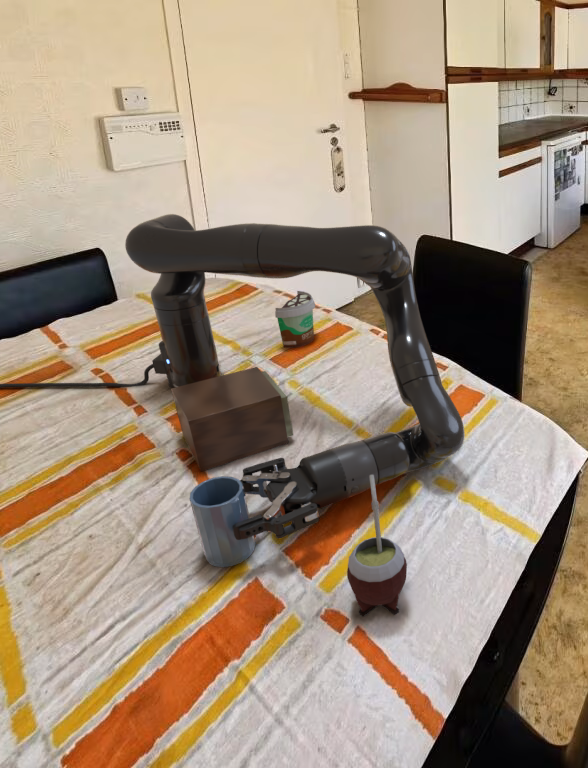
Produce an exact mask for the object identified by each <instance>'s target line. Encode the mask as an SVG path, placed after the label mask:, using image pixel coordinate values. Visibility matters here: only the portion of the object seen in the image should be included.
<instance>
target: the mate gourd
mask: <svg viewBox="0 0 588 768" xmlns="http://www.w3.org/2000/svg"><path fill="white" fill-rule="evenodd" d="M369 477H370V485H371V488H370V493H371V511H373V521H374V529H375V536H374V537H370V538H367V539H364V540H362V541H361V542H359V543H358V544H357V545H356V546H355V547H354V549H353V550H352V552H351V554H350V555H349V556H348V561H347V570H346V578H347V580H348V583H349V587H350V589H351V590H352V593H353V594H354V596H355V600H356V603H357V605H358V607H359V609H360V610H358V614H359V616H361V617H362V618H364V617H366V616H367V615H368V614H369V613H371V612H372V611H373V610H375V609H376V608H377V607H379V606H381V607H383V608H384V609H386V610H387V611H388V612H389V613H391V614H392V615H393V616H396V615H398V614H399V613H400V608H399V607H398V603H399V599H400V594H401V592H402V590H403V588H404V586H405V584H406V580H407V575H408V574H407V569H408V567H407V566H408V563H407V559H406V557H405V554H404V552H403V550H402V548H401V547H400V546H399V545H398V544H397V543H396V542H394V541H393V540H391V539H390V538H387V537H383V536H382V535H381V526H380V514H379V509H380V506H379V504H380V503H379V501H378V497H377V489H376V486H375V480H374V475H370V476H369Z"/></svg>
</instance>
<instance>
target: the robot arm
mask: <svg viewBox="0 0 588 768" xmlns="http://www.w3.org/2000/svg"><path fill="white" fill-rule="evenodd" d="M124 242H125V243H124V248H125V251H126V254H127V256H128V257H129V258H130V260H131V261H132V262H133V263H134V264H135V265H136V266H137V267H139V268H141V269H142V270H144V271H147V272H149V273H153V274H157V275H158V274H160V275H159V278H158V280H157V282H156V284H155V285H154V286H153V287H152V289H151V292H150V297H151V303H152V306H153V309H154V313H155V318H156V321H157V325H158V329H159V334H160V337H161V341H159V343H158V348H159V349H158V350H159V352H160V353H159V354H158V355H157V356H155V358H153V359H152V360H151V362H152V363H151V364H150V365H148V366H147V367H146V368H145V369H144V372H143V376H144V379H143V380H141V381H140V382H137V383H119V382H30V383H28V382H27V383H25V382H24V383H20V382H19V383H0V389H1V388H2V389H5V388H7V389H8V388H105V387H106V388H107V387H108V388H109V387H111V388H131V387H140V386H144V385H145V384H147V383H148V382H149V379H150V376H149V375H150V374H149V373H150V371H151V370H152V369H153V370H154V374H156V375H166V379H167V384H168V386H169V388H175V387H179V386H183V385H187V384H191V383H195V382H199V381H203V380H207V379H211V378H215V377H219V376H223V374H222V371H221V367H222V365H221V361H219V358H218V352H217V348H216V342H215V339H214V333H213V330H212V324H211V320H210V316H209V314H210V313H209V311H208V306H207V301H206V296H205V287H206V274H208V273H209V274H218V275H227V276H240V277H248V278H259V279H260V278H261V279H275V280H276V279H277V280H279V279H288V278H294V277H297V276H300V275H303V274H308V273H311V272H327V273H335V274H341V275H347V276H352V277H355V278H357V279H359V280H360V281H362V282H363V283H364V284H366V286H368V287H370V289H371V291H372V293H373V295H374V297H375V298H376V299H375V300H377V302H378V303H377V304H378V305H379V308H380V310H381V313H382V316H383V319H384V323H385V328H386V341H387V352H388V359H389V362H390V367H391V371H392V375H393V377H394V380H395V383H396V387H397V389H398V394H399V397H400V399H401V401H402V402H403V404H404V405H405V406H406V407H411V408H412V409H413V412H414V414H415V415H416V418H417V420H418V423H417V424H415V425H413V426H411V427H408V428H405V429H402V430H399V431H396V432H393V431H386V432H383V433H382V432H381V433H379V434H376V435H373V436H370V437H368V438H364V439H361V440H358V441H354V442H353V441H352V442H349V443H345V444H341V445H338V446H335V447H332V448H329V449H326V450H323V451H320V452H317V453H314V454H311V455H309V456H308V455H307V456H305V457H303V458H302V459H301V460H300V461H299V464H298V466H297V467H296V466H295V467H293V468H287V466H286V465H287V464H286V460H285V459H286V458H284V457H278V458H275V459H271V460H268V461H264V462H261V463H257V464H254V465H251V466H247V467H244V468H243V469H242V477H241V479H239V480H240V482H241V483H242V484H243V488H244V493H245V497H246V495H257V496H260V497H261V498H264V499H265V498H266V499H268V500H269V502H271V506H270V507H269V508H268V509H267V510H266V512H264V514H263V515H262V514H260V513H259V514H257V515H254V516H252V517H250V518H249V519H246V520H244V521H241V522H238V523H235V524H234V525H233V527H232V528H233V533H234V536H235V538H236V540H241V539H247V538H249V537H252V536H254V537H255V536H256V535H259V534H262V533H264V532H267V533H272V534H274V535H275V536H274V537H275V538H277V539H278V540H279V539H283V538H286V537H288V536H289V535H292V534H295V533H296V532H297V533H298V532H299V531H301V530H303V529H305V528H308V527H310V526H312V525H315V524H317V523H319V521H320V516H319V515H320V514H319V510H320V509H323V508H325V507H328V506H331V505H334V504H337V503H339V502H342V501H344V500H346V499H350V498H353V497H354V496H358V495H360V494H362V493H364V492H366V491H368V490H369V489H370V490H371V485H370V477H369V476H370V475H374V480H375V487H376V486H378V485H380V484H384V483H386V482H389V481H391V480H394V479H396V478H398V477H400V476H402V475H404V474H405V473H410V472H414V471H418V470H421V469H424V468H428V467H431V466H434V465H436V464H439V463H440V462H443V461H445V460H446V459H448V458H449V457H451V456H453V455H454V454H456V453H458V452H459V451H460V450H461V448H462V447H463V445H464V443H465V435H466V434H465V426H464V422H463V419H462V416H461V415H460V412H459V410H458V409H457V407H456V405H455V403H454V402H453V400H452V398H451V397H450V396H451V395H449V393H448V392H447V390H446V388H445V387H444V386H443V383H442V379H441V375H440V372H439V369H438V366H437V363H436V359H435V356H434V354H433V351H432V348H431V345H430V342H429V339H428V336H427V333H426V330H425V327H424V324H423V320H422V317H421V313H420V309H419V303H418V299H417V294H416V287H415V281H414V280H415V279H414V274H413V267H412V266H413V265H412V260H411V256H410V253H409V251H408V249H407V247H406V246H405V245H404V243H403V242H402V241H400V239H399V238H398V237H397V236H396V235H395V234H394V233H393V232H392V231H390V230H389V229H388V228H386V227H383V226H380V225H375V224H373V225H372V224H369V225H368V224H365V225H351V226H336V227H314V226H302V225H285V224H277V223H276V224H275V223H255V222H250V223H248V222H246V223H237V224H230V225H222V226H216V227H211V228H210V227H209V228H205V229H198V230H196V229H195V227H193V225H192V223H191V222H190V221H189V220H188V219H186V218H185V217H184V216H182V215H180V214H175V213H168V214H164V215H160V216H158V217H154V218H152V219H149V220H146V221H143V222H140V223H138V224H137V225H136V226H134V227H133V228H132V229H130V231H129V232H128V234H127V236H126V237H125V241H124ZM259 472H260V474H259V475H253V474H256V473H259ZM267 482H268V483H267ZM256 485H257V486H256ZM288 523H290V524H289V525H287V526H284V525H286V524H288Z"/></svg>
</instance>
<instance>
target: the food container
mask: <svg viewBox="0 0 588 768" xmlns="http://www.w3.org/2000/svg"><path fill="white" fill-rule="evenodd" d="M296 293H297V294H296V295H295V296H294V297H293V298H292V299H289V300H287V301H286V302H285V303H284V305H283V306H282V307H275V312H274V313H275V318H277V324H278V328H279V332H280V337H281V342H282V347H283V348H284V349H290V348H291V349H292V348H293V349H295V348H300V347H304V346H306V345H309V344H310V343H312V342H313V341H314V339H315V329H314V309H315V308H316V303H315V299H314V298H313V297H312V294H310V293H309V292H307V291H304V290H303V291H302V290H296Z"/></svg>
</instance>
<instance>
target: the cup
mask: <svg viewBox="0 0 588 768" xmlns="http://www.w3.org/2000/svg"><path fill="white" fill-rule="evenodd" d="M240 480H241V479H238V478H236V477H233V476H226V475H222V476H216V477H211V478H209V479H206V480H203V481H202V482H200V483H198V484H197V485H196V486H194V487H193V489H192V490H191V491H190V493H189V503H190V507H191V510H192V513H193V518H194V521H195V525H196V528H197V532H198V536H199V540H200V543H201V547H202V551H203V554H204V558H205V561H207V563H208V564H210V565H211V566H213V567H218V568H229V567H233V566H236V565H238V564H241V563H243V562H244V561H246V560H247V559H248V558H249V557H251V556H252V555H253V552H254V551H255V548H256V542H255V535H254V536H252V537H249V538H247V539H241V540H236V538H235V536H234V533H233V528H232V527H233V525H234V524H235V523H238V522H241V521H244V520H246V519H249V518H251V517H250V512H249V507H248V502H247V497H246V496H245V495H246V494H245V493H244V488H243V484H242V483H241V482H240Z"/></svg>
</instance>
